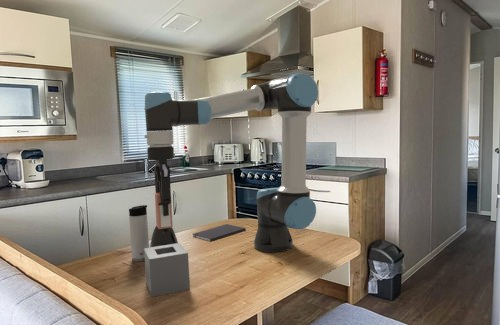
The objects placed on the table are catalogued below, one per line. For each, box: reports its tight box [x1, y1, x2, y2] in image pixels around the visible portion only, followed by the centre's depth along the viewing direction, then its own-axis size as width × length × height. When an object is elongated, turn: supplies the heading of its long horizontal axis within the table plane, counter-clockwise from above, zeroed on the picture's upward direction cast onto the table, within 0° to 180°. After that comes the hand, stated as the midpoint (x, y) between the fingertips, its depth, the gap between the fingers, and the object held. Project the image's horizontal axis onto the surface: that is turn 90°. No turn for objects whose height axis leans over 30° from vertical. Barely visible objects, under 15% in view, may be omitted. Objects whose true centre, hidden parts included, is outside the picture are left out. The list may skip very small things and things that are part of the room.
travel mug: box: [128, 204, 150, 263], centre depth 138 cm, size 6×7×20 cm
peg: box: [154, 192, 173, 229], centre depth 111 cm, size 4×4×10 cm
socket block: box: [144, 242, 191, 298], centre depth 113 cm, size 11×11×11 cm
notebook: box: [192, 223, 246, 242], centre depth 169 cm, size 13×2×21 cm
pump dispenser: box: [149, 224, 179, 248], centre depth 132 cm, size 10×10×15 cm
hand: (164, 224), depth 112 cm, fingers closed on peg, 4 cm apart
